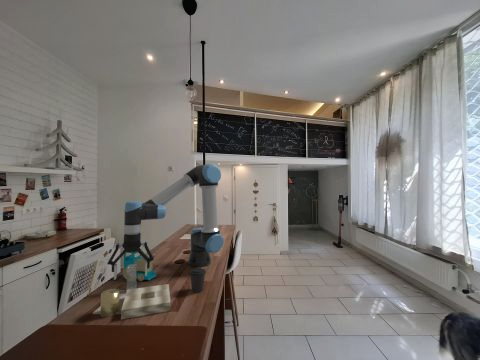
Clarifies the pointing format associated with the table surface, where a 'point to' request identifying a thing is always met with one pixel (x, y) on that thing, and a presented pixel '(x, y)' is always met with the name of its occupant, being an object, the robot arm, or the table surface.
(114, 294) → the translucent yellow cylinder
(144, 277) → the toy train
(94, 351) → the table surface
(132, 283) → the square bit
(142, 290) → the socket board
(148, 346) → the table surface
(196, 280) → the coffee cup
